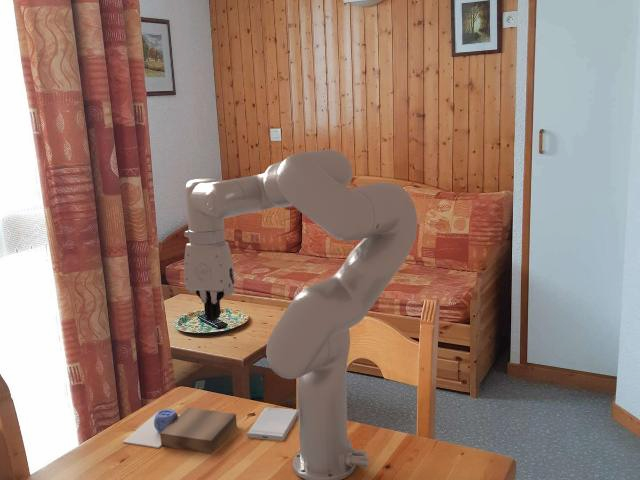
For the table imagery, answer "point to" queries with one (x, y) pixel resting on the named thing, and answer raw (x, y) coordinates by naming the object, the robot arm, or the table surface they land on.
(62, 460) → the table surface
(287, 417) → the hard drive
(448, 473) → the table surface
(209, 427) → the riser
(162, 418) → the decorative dice
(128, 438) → the mat
